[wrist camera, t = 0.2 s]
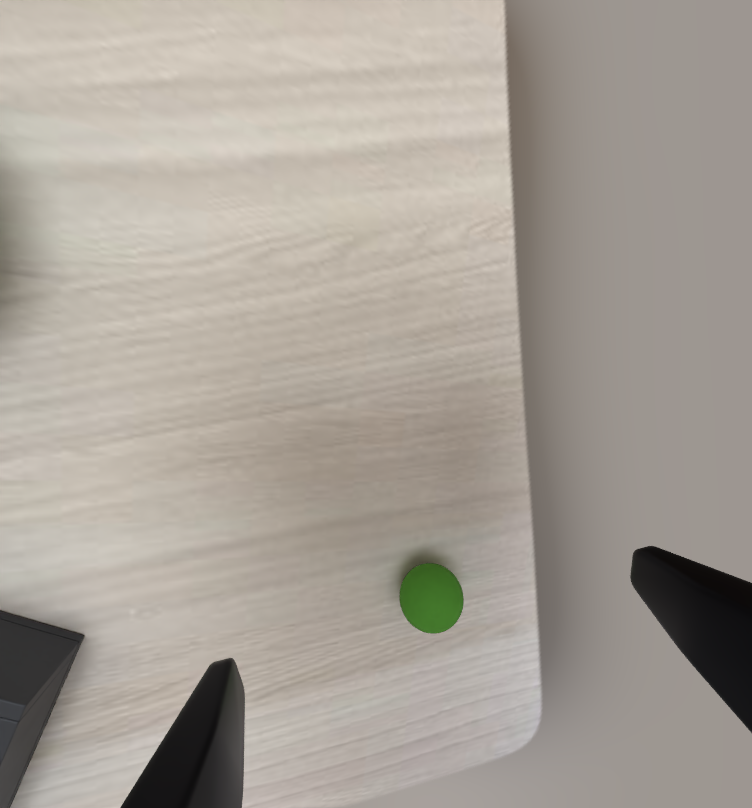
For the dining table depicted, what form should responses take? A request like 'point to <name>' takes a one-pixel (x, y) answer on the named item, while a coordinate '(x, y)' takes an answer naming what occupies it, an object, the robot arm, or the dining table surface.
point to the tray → (28, 690)
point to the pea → (431, 598)
